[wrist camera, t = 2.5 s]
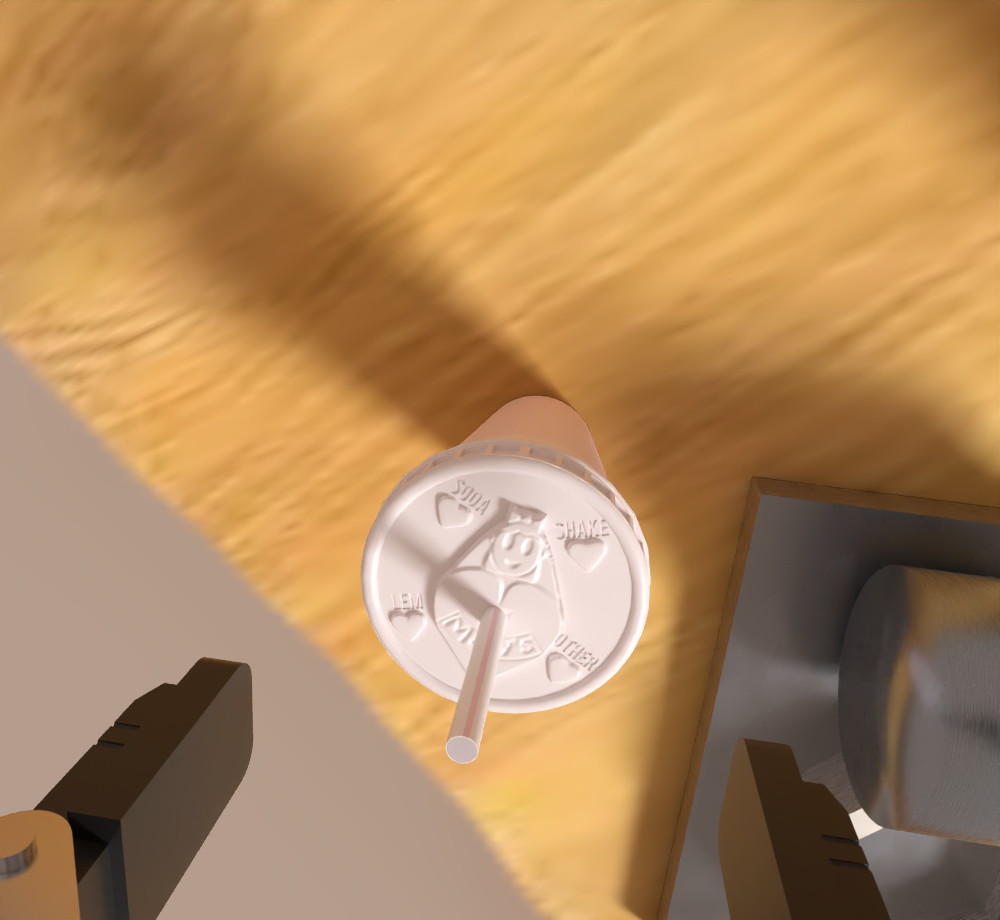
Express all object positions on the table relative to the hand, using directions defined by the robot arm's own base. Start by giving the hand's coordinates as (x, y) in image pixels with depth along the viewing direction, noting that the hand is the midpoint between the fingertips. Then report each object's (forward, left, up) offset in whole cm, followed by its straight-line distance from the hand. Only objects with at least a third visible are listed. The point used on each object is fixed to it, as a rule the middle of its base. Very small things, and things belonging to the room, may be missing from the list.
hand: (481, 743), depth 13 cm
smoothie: (0, 0, -14) cm, 14 cm away
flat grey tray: (+10, +14, -14) cm, 22 cm away
